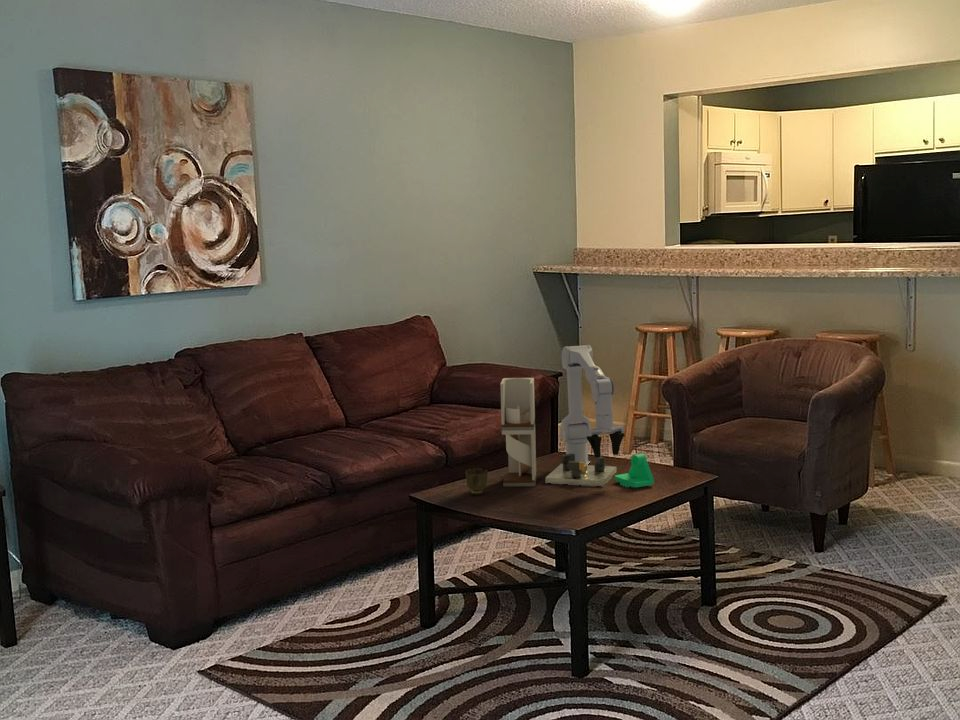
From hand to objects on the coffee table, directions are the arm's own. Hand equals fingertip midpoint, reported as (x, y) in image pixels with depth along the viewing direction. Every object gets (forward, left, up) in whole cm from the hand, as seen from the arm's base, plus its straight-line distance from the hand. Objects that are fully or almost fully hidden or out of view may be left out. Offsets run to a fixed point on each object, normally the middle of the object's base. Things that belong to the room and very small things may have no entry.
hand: (606, 455), depth 352 cm
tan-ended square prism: (-2, -11, -8) cm, 14 cm away
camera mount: (-4, +8, -11) cm, 14 cm away
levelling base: (-9, -11, -10) cm, 17 cm away
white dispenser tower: (+1, -30, -10) cm, 32 cm away
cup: (+20, -39, -10) cm, 45 cm away
